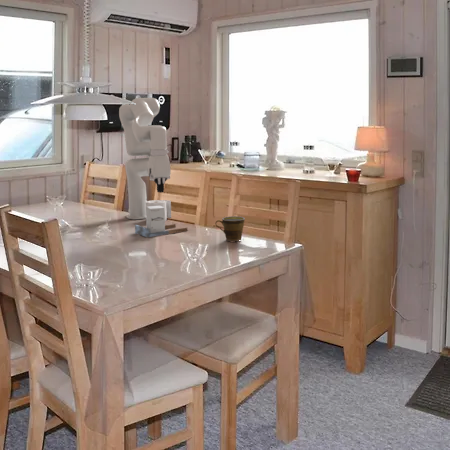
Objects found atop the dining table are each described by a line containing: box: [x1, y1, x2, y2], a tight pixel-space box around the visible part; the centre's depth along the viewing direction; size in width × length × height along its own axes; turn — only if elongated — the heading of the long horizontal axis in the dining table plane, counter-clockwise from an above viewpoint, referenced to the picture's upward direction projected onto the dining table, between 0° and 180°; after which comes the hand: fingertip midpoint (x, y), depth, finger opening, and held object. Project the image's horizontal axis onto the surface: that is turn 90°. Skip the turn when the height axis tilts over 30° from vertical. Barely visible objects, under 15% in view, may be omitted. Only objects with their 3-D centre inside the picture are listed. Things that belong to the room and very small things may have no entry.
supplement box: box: [145, 206, 166, 233], centre depth 292 cm, size 7×7×13 cm
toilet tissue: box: [146, 199, 172, 222], centre depth 323 cm, size 11×12×10 cm
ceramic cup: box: [215, 216, 245, 242], centre depth 274 cm, size 13×10×10 cm
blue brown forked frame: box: [134, 223, 189, 238], centre depth 295 cm, size 12×22×4 cm, turn 126°
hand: (160, 192), depth 291 cm, fingers closed
